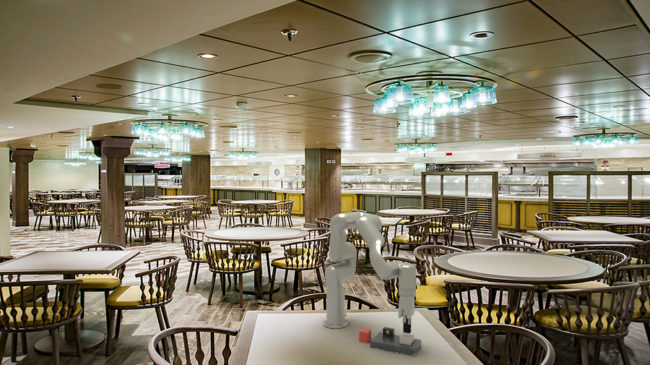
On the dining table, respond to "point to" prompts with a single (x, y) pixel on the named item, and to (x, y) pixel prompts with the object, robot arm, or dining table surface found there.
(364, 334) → the red block
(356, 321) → the dining table surface
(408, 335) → the button
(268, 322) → the dining table surface
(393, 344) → the panel
